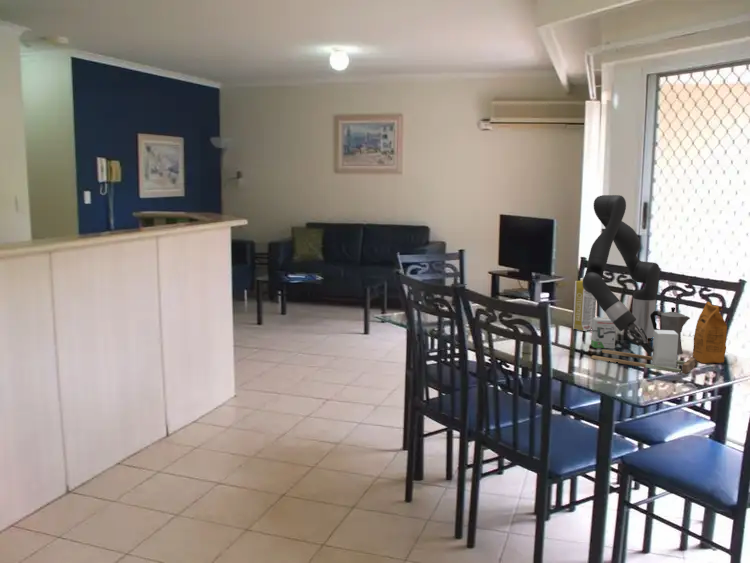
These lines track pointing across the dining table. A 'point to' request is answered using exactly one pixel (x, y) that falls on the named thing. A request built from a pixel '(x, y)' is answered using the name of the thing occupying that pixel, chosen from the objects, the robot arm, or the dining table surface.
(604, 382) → the dining table surface
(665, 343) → the supplement box
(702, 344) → the coffee package
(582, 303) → the juice carton
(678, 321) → the coffeepot
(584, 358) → the dining table surface
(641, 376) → the dining table surface
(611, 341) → the ink box
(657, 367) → the beam slot
